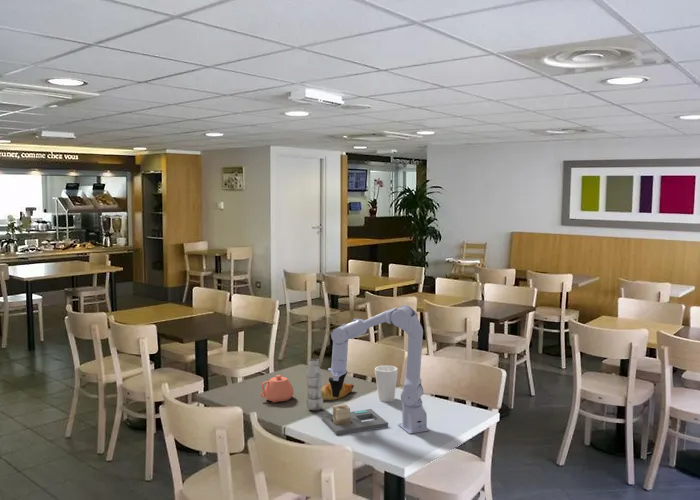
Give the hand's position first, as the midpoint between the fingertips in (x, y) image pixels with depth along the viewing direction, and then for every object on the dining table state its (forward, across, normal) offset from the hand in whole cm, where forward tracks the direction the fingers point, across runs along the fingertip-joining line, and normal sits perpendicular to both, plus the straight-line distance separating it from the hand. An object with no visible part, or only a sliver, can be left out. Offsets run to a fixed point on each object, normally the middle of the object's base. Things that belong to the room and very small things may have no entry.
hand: (337, 393), depth 229 cm
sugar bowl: (+13, -20, -28) cm, 36 cm away
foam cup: (+9, -24, +18) cm, 31 cm away
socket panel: (+9, +4, +8) cm, 13 cm away
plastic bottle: (+11, -9, -9) cm, 17 cm away
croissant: (+11, -26, -5) cm, 29 cm away
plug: (+10, +7, +3) cm, 12 cm away
